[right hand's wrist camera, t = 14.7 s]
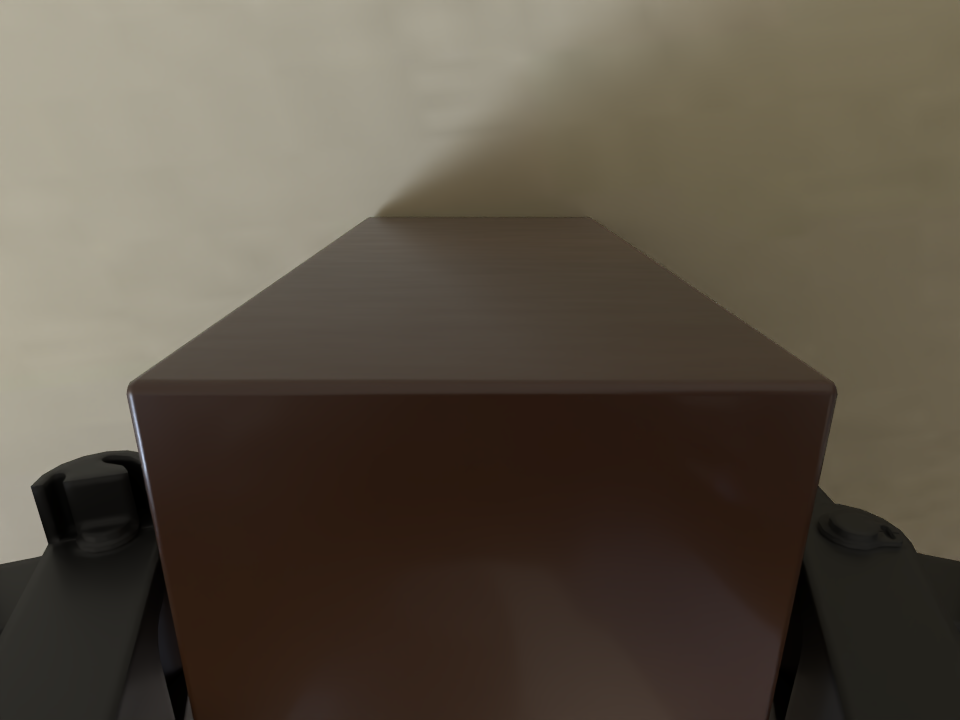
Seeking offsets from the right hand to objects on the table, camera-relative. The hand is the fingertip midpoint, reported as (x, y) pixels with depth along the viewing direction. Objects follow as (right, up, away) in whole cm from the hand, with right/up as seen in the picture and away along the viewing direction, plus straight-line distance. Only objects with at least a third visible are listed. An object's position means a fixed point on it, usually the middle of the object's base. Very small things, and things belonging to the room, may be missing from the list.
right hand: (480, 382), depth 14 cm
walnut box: (0, -12, +5) cm, 13 cm away
